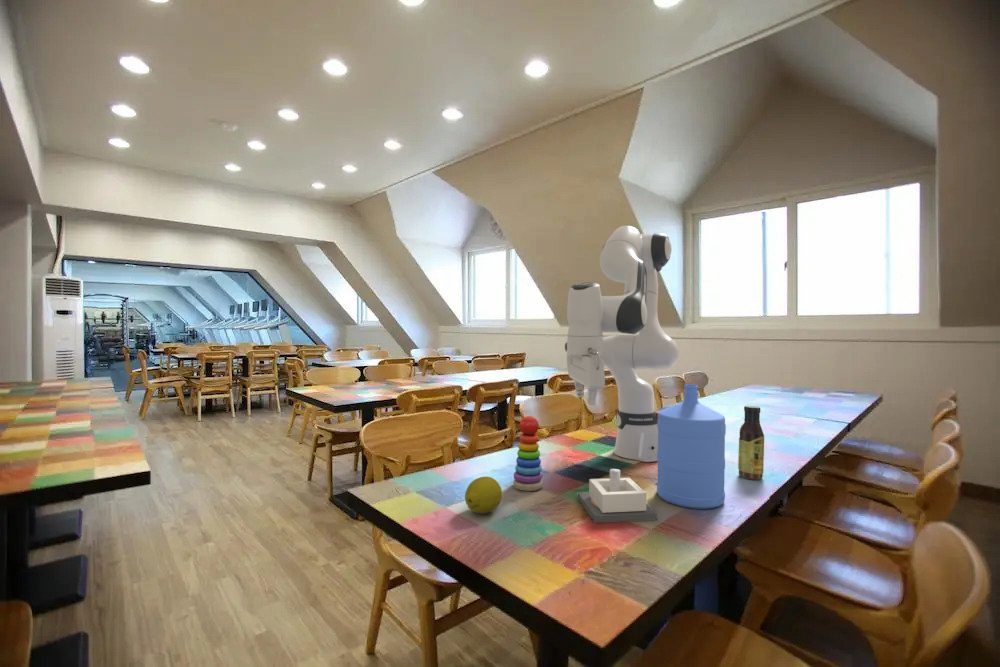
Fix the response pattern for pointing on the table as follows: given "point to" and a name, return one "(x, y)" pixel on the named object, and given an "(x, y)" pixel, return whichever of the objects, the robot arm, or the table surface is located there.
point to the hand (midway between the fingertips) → (585, 400)
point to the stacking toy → (528, 457)
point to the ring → (617, 496)
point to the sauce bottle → (751, 445)
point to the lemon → (483, 495)
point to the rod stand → (614, 516)
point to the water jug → (691, 453)
